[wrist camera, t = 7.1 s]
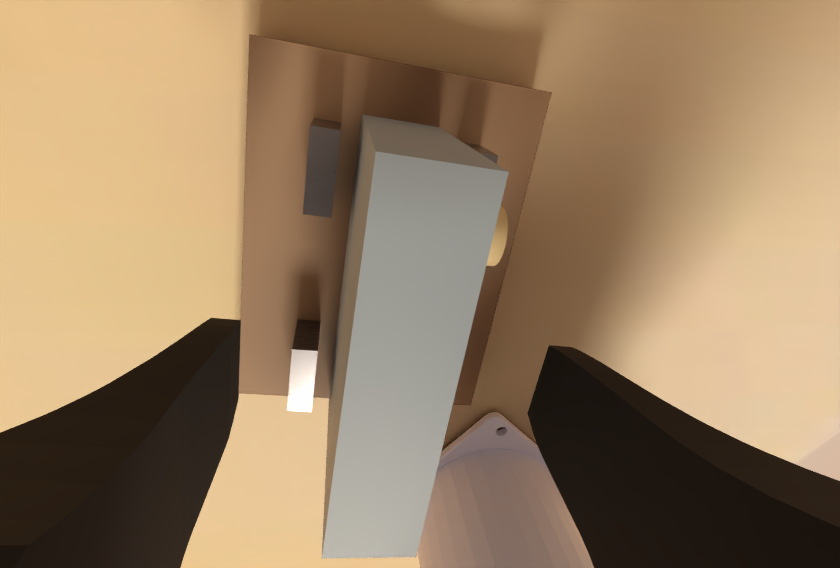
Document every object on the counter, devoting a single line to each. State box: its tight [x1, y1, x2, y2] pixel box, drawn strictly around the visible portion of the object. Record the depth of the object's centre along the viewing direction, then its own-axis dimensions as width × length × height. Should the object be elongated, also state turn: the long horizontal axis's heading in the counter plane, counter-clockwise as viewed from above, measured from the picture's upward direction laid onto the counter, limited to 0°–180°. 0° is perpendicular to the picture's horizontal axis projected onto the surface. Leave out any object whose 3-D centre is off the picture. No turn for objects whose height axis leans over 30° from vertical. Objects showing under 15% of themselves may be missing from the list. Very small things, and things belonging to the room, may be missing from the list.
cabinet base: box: [239, 35, 551, 405], centre depth 17 cm, size 9×12×2 cm
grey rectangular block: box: [322, 114, 509, 558], centre depth 14 cm, size 3×10×7 cm, turn 170°
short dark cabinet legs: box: [287, 118, 498, 412], centre depth 16 cm, size 5×9×2 cm, turn 170°
